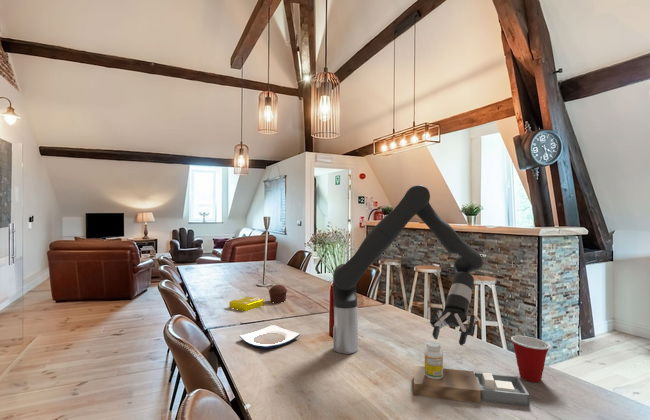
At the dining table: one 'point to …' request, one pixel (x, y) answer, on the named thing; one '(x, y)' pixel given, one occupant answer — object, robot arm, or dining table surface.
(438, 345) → the supplement bottle
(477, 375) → the tray
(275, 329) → the plate
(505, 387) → the tile
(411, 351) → the dining table surface
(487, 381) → the tile
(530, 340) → the plastic cup
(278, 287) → the muffin
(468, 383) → the board
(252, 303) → the element tile
